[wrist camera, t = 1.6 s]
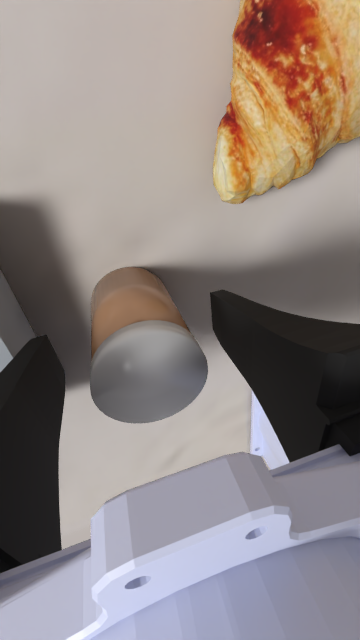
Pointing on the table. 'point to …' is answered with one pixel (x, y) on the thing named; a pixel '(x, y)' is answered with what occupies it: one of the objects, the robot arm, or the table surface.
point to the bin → (11, 325)
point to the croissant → (287, 93)
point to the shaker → (141, 349)
